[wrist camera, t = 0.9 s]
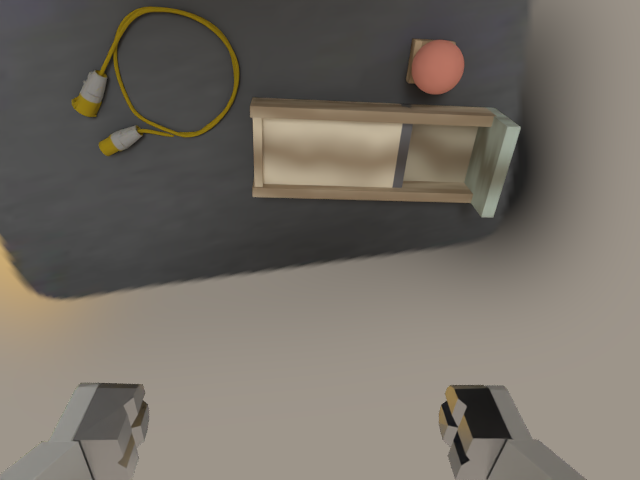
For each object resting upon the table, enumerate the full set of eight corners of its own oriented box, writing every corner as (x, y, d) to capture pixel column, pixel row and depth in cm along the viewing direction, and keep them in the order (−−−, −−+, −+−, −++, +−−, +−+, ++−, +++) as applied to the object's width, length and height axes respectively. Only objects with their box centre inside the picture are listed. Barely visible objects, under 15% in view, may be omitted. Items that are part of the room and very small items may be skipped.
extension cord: (44, 18, 37) (33, 21, 36) (226, -4, 37) (223, -2, 35) (98, 153, 44) (90, 160, 42) (253, 134, 44) (251, 141, 42)
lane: (252, 97, 41) (247, 116, 36) (494, 107, 43) (520, 127, 38) (255, 184, 46) (250, 211, 41) (472, 190, 48) (493, 217, 43)
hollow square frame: (412, 38, 39) (415, 40, 38) (451, 40, 39) (455, 42, 38) (406, 80, 41) (408, 83, 40) (443, 82, 41) (447, 85, 40)
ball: (410, 34, 38) (423, 42, 35) (459, 37, 39) (477, 45, 35) (403, 86, 41) (413, 99, 37) (449, 88, 41) (464, 101, 37)
